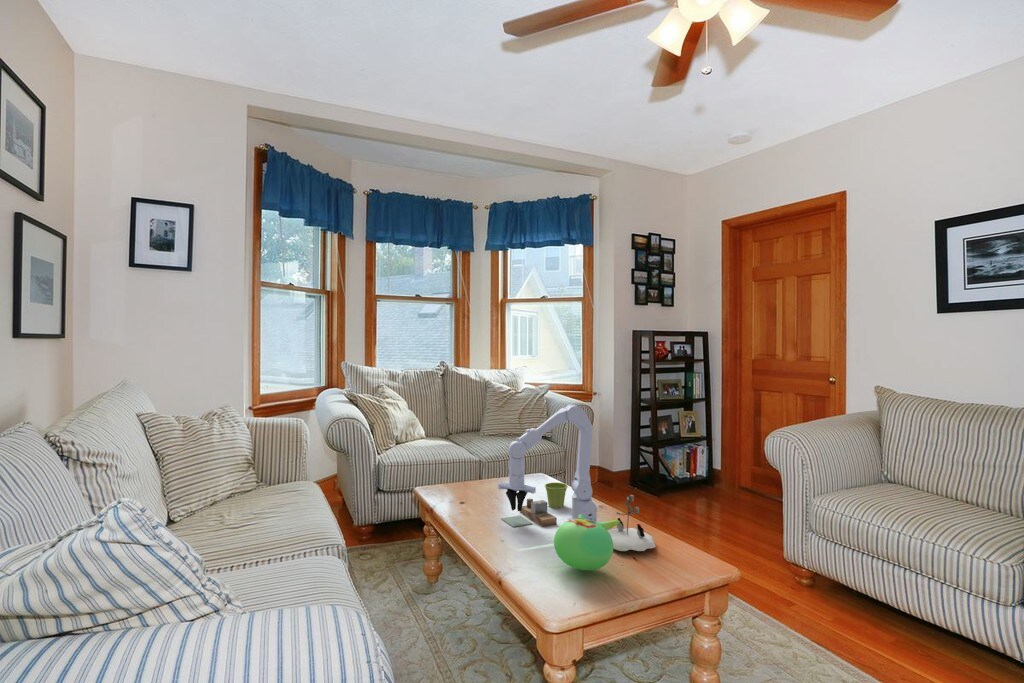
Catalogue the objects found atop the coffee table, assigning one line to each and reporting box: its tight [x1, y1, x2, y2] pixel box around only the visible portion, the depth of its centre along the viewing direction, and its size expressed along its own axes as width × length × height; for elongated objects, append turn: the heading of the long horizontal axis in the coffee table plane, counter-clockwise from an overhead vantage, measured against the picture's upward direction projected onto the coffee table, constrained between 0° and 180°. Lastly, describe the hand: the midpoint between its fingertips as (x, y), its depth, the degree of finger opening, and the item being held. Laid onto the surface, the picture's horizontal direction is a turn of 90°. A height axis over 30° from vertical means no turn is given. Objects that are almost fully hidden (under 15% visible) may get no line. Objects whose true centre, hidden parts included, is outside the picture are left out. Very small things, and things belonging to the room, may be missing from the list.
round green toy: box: [553, 514, 620, 571], centre depth 158 cm, size 18×17×15 cm
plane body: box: [519, 498, 558, 528], centre depth 203 cm, size 18×6×6 cm, turn 26°
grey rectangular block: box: [531, 499, 548, 515], centre depth 202 cm, size 3×5×4 cm, turn 119°
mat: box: [501, 515, 533, 528], centre depth 199 cm, size 10×8×1 cm
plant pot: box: [544, 482, 568, 509], centre depth 218 cm, size 9×9×9 cm
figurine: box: [607, 494, 657, 552], centre depth 178 cm, size 20×18×16 cm
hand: (516, 510), depth 199 cm, fingers closed
